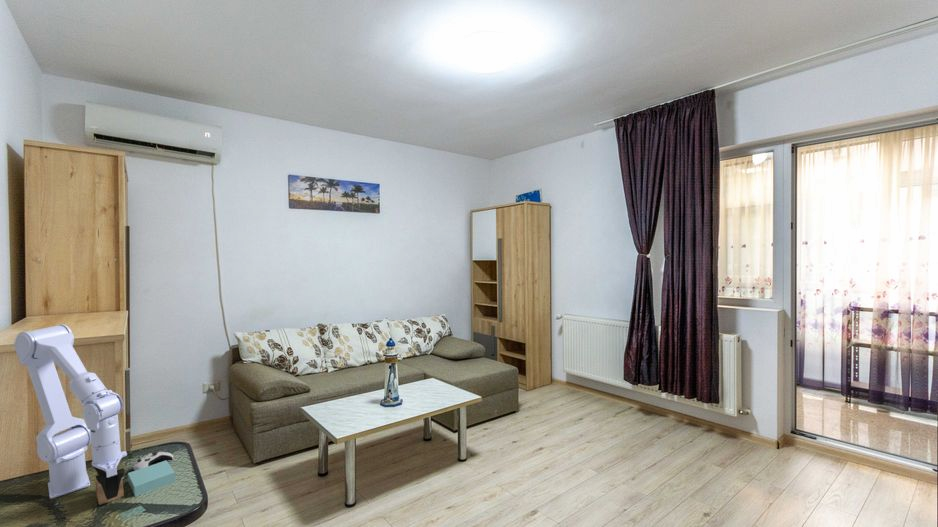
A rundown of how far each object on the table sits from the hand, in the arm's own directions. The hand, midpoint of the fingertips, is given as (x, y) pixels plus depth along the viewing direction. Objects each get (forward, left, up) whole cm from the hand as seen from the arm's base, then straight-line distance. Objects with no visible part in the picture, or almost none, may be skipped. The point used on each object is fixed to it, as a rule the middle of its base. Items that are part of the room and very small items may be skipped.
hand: (109, 491), depth 114 cm
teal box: (0, +9, -2) cm, 9 cm away
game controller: (-9, +11, -2) cm, 14 cm away
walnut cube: (0, 0, -2) cm, 2 cm away
